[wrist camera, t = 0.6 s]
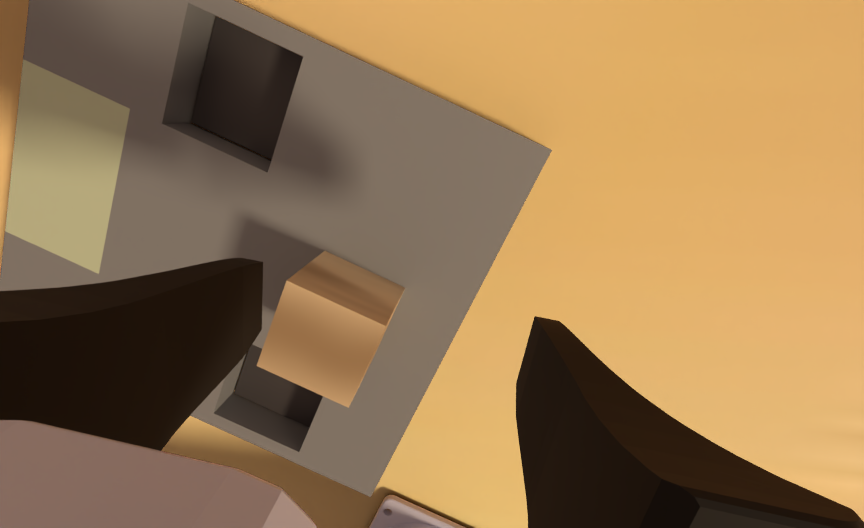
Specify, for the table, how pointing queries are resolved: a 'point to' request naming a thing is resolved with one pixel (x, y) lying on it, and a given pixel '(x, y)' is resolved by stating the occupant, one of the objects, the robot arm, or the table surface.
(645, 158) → the table surface
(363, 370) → the maple block
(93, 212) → the trap board
